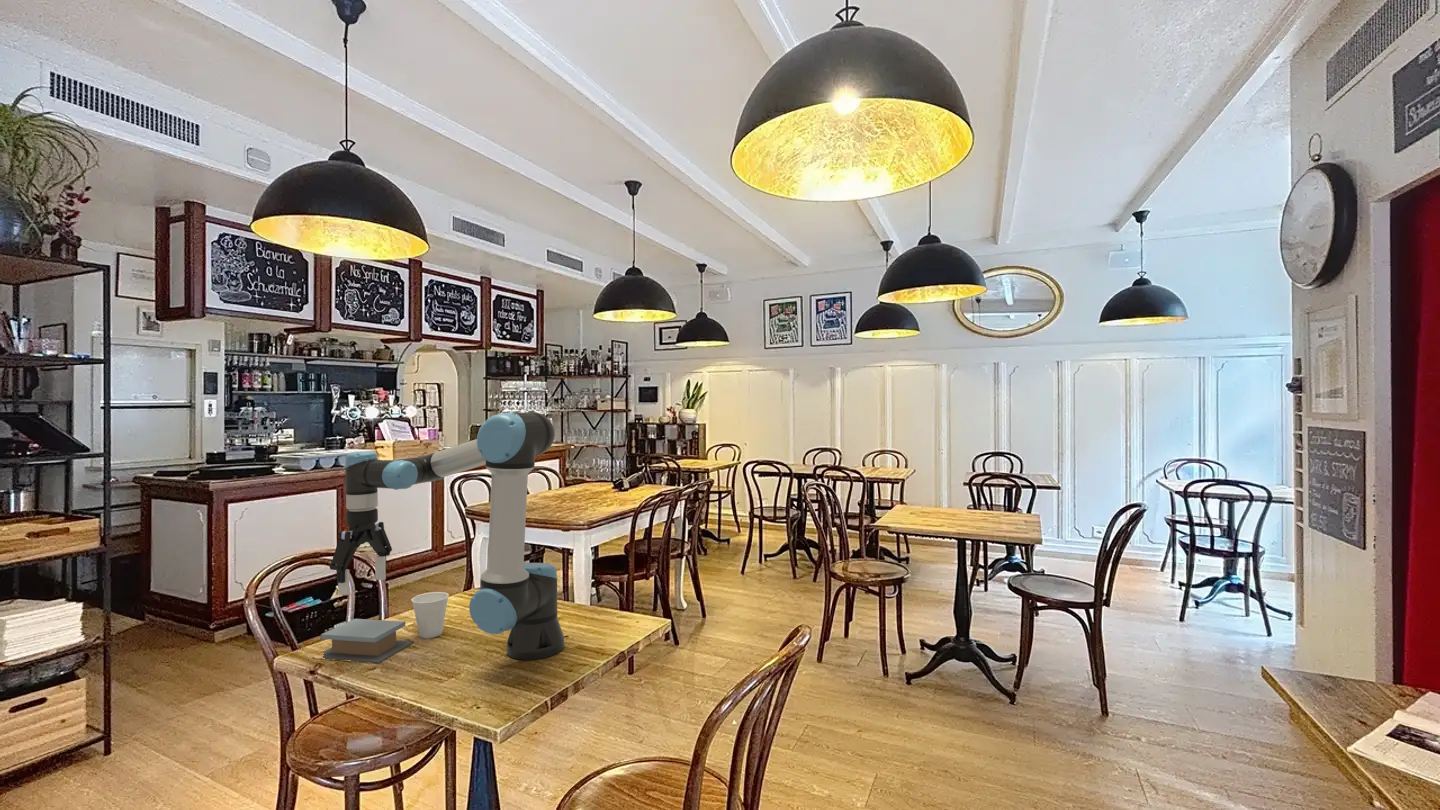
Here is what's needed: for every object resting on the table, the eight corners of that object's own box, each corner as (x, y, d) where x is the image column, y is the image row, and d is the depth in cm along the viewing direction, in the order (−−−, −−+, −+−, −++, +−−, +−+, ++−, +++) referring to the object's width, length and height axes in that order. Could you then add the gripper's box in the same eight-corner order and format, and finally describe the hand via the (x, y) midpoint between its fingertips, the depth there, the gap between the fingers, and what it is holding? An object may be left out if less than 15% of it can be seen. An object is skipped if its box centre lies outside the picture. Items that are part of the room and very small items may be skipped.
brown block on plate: (414, 642, 177) (414, 624, 177) (379, 663, 163) (378, 644, 163) (351, 638, 181) (351, 621, 181) (311, 658, 167) (311, 639, 167)
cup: (440, 641, 178) (439, 602, 178) (405, 641, 178) (404, 602, 178) (455, 628, 188) (454, 591, 188) (422, 628, 188) (421, 591, 188)
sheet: (405, 625, 177) (405, 621, 177) (374, 642, 165) (374, 637, 165) (354, 622, 179) (354, 618, 179) (321, 638, 168) (320, 634, 167)
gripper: (381, 500, 185) (382, 573, 185) (312, 517, 160) (313, 600, 160) (404, 501, 183) (405, 574, 184) (338, 518, 159) (339, 602, 159)
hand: (362, 586), depth 172 cm, fingers open, 13 cm apart
